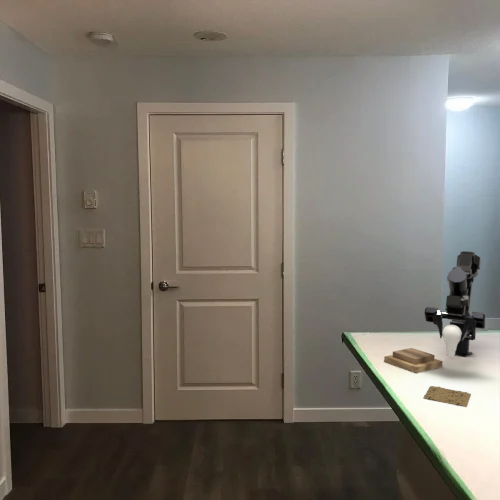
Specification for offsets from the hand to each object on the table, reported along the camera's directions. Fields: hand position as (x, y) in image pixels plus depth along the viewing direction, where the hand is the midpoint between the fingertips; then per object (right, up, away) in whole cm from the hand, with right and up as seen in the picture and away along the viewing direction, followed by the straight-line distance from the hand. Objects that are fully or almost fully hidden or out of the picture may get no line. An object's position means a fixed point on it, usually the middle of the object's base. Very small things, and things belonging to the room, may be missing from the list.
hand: (451, 338), depth 164 cm
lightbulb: (+1, -7, +2) cm, 7 cm away
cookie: (-7, -15, -15) cm, 23 cm away
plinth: (-8, -11, +14) cm, 20 cm away
